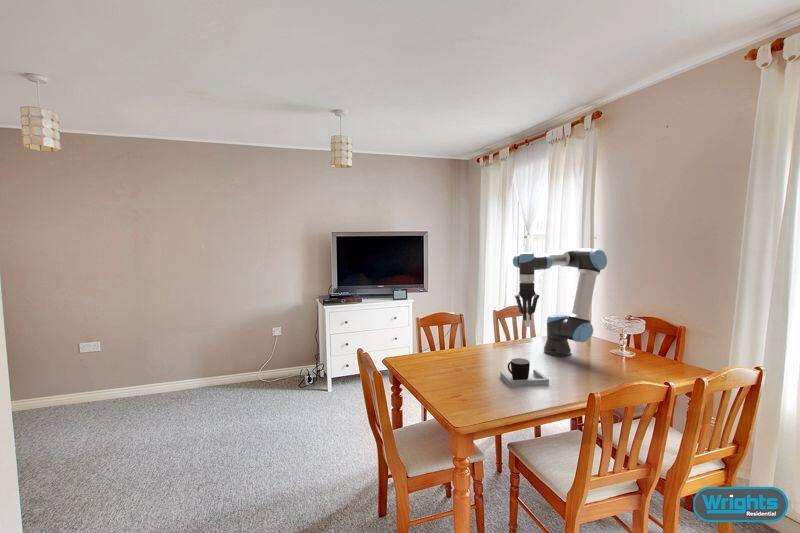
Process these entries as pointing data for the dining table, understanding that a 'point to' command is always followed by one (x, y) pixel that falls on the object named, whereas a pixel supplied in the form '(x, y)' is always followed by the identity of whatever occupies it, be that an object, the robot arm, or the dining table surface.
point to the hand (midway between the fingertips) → (527, 326)
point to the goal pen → (539, 381)
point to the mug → (519, 368)
